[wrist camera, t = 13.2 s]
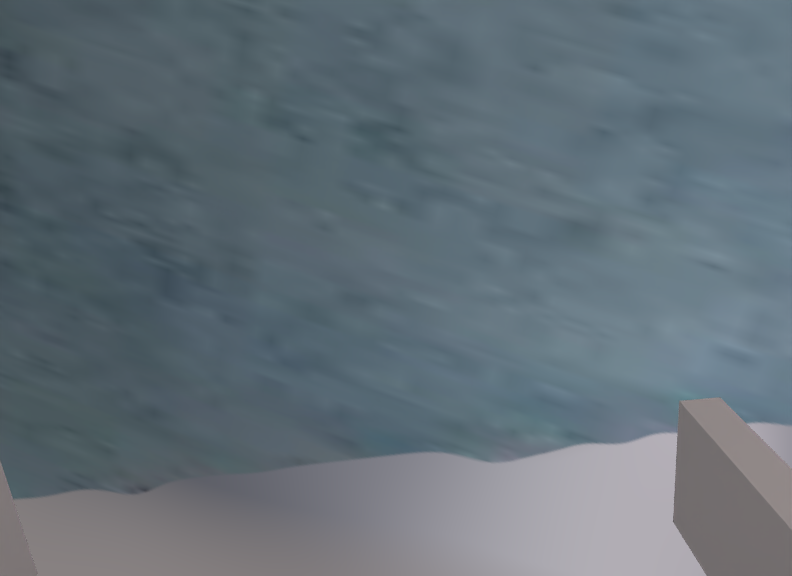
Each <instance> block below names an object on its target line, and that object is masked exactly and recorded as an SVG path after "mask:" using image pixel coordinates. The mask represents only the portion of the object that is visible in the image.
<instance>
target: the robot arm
mask: <svg viewBox="0 0 792 576" xmlns="http://www.w3.org/2000/svg"><path fill="white" fill-rule="evenodd" d="M673 522H674V524H675V525H676V527H677V529H678V530H679V532H680V533H681V535H682V537H683V538H684V540H685V541H686V543H687V545H688V546H689V548H690V549H691V551H692V553H693V554H694V556H695V557H696V559H697V561H698V562H699V564H700V565H701V567H702V569H703V570H704V572H705V573H706V575H707V576H792V469H791V468H790V467H789V466H788V465H787V464H786V463H785V462H784V461H783V460H782V459H781V458H780V457H779V456H778V455H777V454H776V453H775V452H774V451H773V450H772V449H771V448H770V447H769V446H768V445H767V444H766V443H765V442H764V441H763V440H762V439H761V438H760V437H759V436H758V435H757V434H756V433H755V432H754V431H753V430H752V429H751V428H750V427H749V426H748V425H747V424H746V423H745V422H744V421H743V420H742V419H741V418H740V417H739V416H738V415H737V414H736V413H735V412H734V411H733V410H732V409H731V408H730V407H729V406H728V405H727V404H726V403H725V402H724V401H723V400H722V399H721V398H708V399H697V400H685V401H679V417H678V437H677V456H676V476H675V496H674V516H673ZM36 575H37V570H36V567H35V564H34V561H33V558H32V555H31V552H30V549H29V546H28V543H27V540H26V537H25V534H24V531H23V528H22V525H21V522H20V519H19V516H18V513H17V510H16V507H15V504H14V501H13V498H12V495H11V492H10V489H9V486H8V483H7V480H6V477H5V474H4V471H3V468H2V465H1V462H0V576H36Z"/></svg>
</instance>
